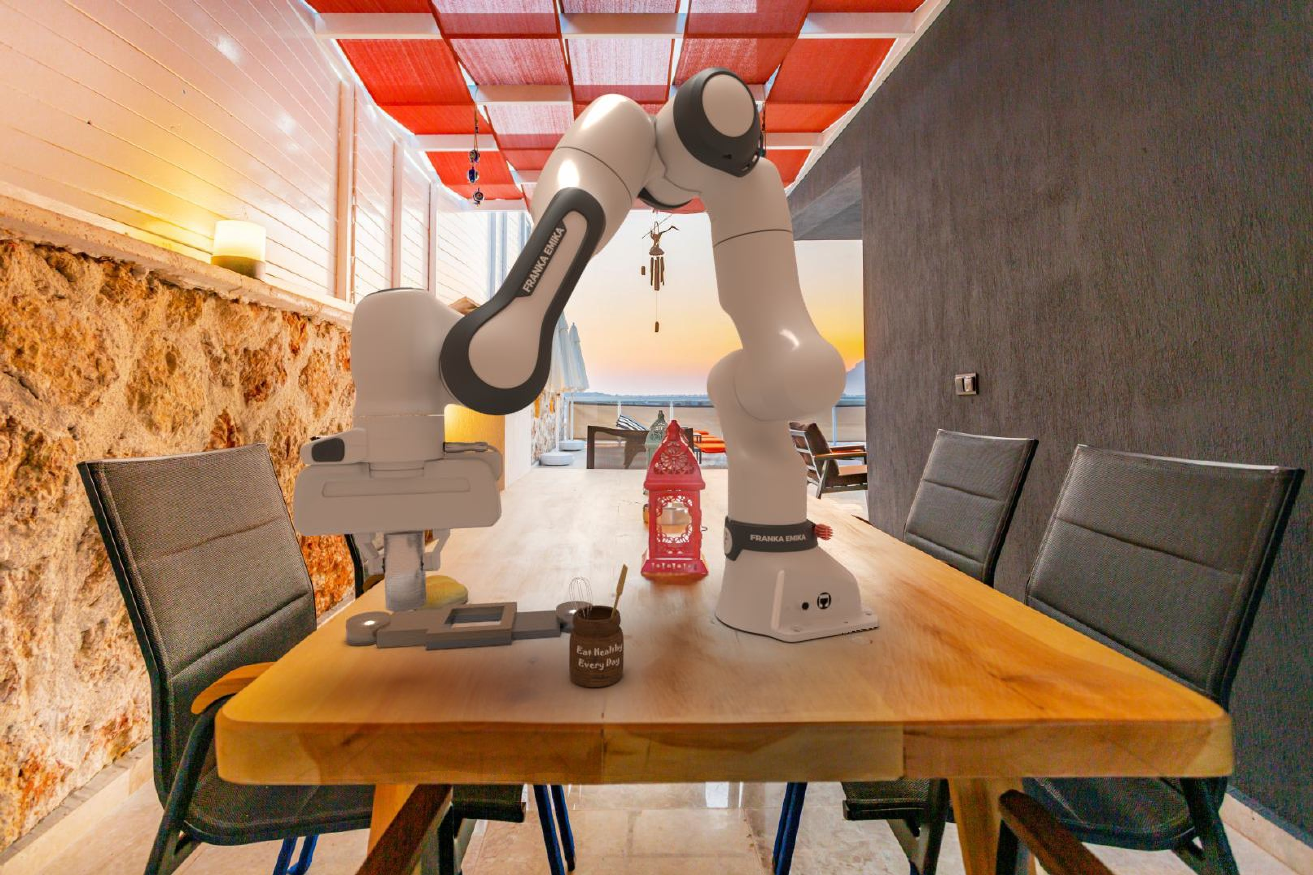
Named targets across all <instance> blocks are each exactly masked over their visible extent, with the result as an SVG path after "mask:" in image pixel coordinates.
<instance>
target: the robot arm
mask: <svg viewBox="0 0 1313 875" xmlns="http://www.w3.org/2000/svg"><path fill="white" fill-rule="evenodd" d="M761 128H762V125H761V116H760V112H759V109H758V106H757V102H756V100H755V97H754V95H753V93H752V91H751V89H750V88H749V86H748V85H747V83H746V82H745V81H744V80H743V78H741V76H739V74H737V73H736V72H734V71H733V70H731V69H729V68H726V67H723V66H711V67H708V68H705V69H703V70H700V71H698V72H697V73H695V74H693V75H692V76H691V77H689V78H688V79H687V80H686V81H684V82H683V83H682V84H681V85H680V87H679V88H678V90H677V92H676V93H675V94H674V95H673V96H672V97H671V98H670V99H669V100H668V101H667V102H666V103H664V105H663V106H662V108H661V109H660V110H659V111H658V113H648V112H647V111H646V110H645V109H644V108H643V107H642V106H641V105H640V104H639V103H637V102H636V101H635V100H633V99H631V98H630V97H628V96H625V95H622V94H618V93H608V94H603V95H600V96H599V97H597V98H596V99H595V98H594V100H593V101H591V103H590V104H589V105H588V106H587V107H586V108H584V110H583V111H582V112H581V113H580V114H579V115H578V117H576V119H575V120H574V121H573V122H572V123H571V125H570V126H569V127H568V128H567V129H566V131H565V132H564V134H563V135H562V137H561V138H560V140H559V141H558V143H557V145H556V146H555V148H554V149H553V151H552V152H551V154H550V156H549V157H548V158H547V161H546V162H545V164H544V166H543V168H542V170H541V173H540V175H539V177H538V178H537V182H536V185H535V187H534V190H533V193H532V196H531V198H530V202H529V212H530V213H529V214H530V217H531V220H532V222H533V227H532V230H531V233H530V236H529V237H528V239H527V241H526V243H525V245H524V246H523V248H522V250H521V251H520V253H519V254H518V256H517V259H516V260H515V262H514V263H513V265H512V266H511V269H510V271H509V272H508V274H507V276H506V278H505V279H504V280H503V282H502V284H501V286H500V287H499V288H498V290H497V291H496V292H495V294H494V295H493V296H492V297H491V298H490V299H489V300H488V301H486V302H484V303H483V304H481V305H480V306H477V308H475V309H473V310H471V311H470V312H468V313H466V314H463V313H461V312H459V311H457V310H455V309H454V308H453V307H450V306H449V305H447V304H446V303H444V302H443V301H442V300H440V299H439V298H437V297H436V296H435V295H434V294H433V293H432V292H431V291H429V290H428V289H423V288H420V287H416V288H415V287H410V286H409V287H408V286H407V287H404V286H402V287H401V286H399V287H392V288H384V289H379V290H377V291H375V292H371V293H369V294H367V295H365V296H364V297H363V298H362V299H360V301H358V303H357V304H356V306H355V309H354V312H353V315H352V319H351V320H352V321H351V328H350V330H351V331H350V347H349V348H350V351H349V352H350V357H349V358H350V374H351V378H352V380H353V383H354V387H355V396H356V397H355V403H354V406H353V410H352V427H351V428H350V429H347V430H344V431H338V432H336V433H333V434H331V435H328V436H325V437H321V438H318V439H314V440H312V441H308V442H306V443H304V444H301V447H300V449H299V456H300V460H301V462H302V463H303V464H305V465H307V466H305V467H304V468H302V469H301V470H300V471H299V472H298V474H297V476H296V479H295V482H294V488H293V497H292V500H293V501H292V523H293V527H294V529H295V530H296V531H297V532H298V533H299V534H300V535H301V536H303V537H314V536H331V535H332V536H334V535H352V534H353V535H354V540H355V541H354V544H355V546H356V547H357V548H358V549H359V551H360V552H361V554H362V555H363V557H365V559H366V560H367V571H368V572H367V573H368V575H370V576H371V575H374V576H375V575H385V569H384V553H383V554H380V552H379V551H378V549H377V548H376V546H375V544H374V543H373V541H374V540H375V539H376V538H377V533H384V532H397V531H417V530H424V531H431V530H432V539H433V540H438V541H437V543H436V544H435V546H434V548H433V550H432V551H427V552H426V551H425V554H424V555H423V556H422V557H423V563H424V565H423V571H426V572H435V571H439V570H440V568H441V552H442V551H443V549H444V547H445V546H446V544H447V542H448V540H449V539H450V536H451V530H453V529H455V530H456V529H474V528H491V527H493V526H495V525H496V524H497V523H498V522H499V520H500V519H501V518H502V513H503V512H502V500H501V493H500V487H499V486H500V485H499V479H500V478H501V477H502V475H503V470H504V469H503V468H504V467H503V456H502V454H501V452H500V450H499V449H498V448H497V447H495V446H493V445H491V444H489V443H488V442H486V441H474V442H465V441H453V442H452V441H447V442H446V430H445V429H446V426H445V409H446V407H447V406H448V405H456V406H461V407H464V408H465V409H468V410H472V411H474V412H477V413H480V414H483V415H488V416H507V415H513V414H515V413H518V412H520V411H522V410H524V409H526V408H528V407H529V406H530V405H531V404H532V403H534V402H535V401H536V400H537V399H538V398H539V397H540V395H541V394H542V392H543V391H544V389H545V387H546V386H547V383H548V380H549V377H550V372H551V365H552V356H553V355H552V352H553V341H554V335H555V330H556V327H557V325H558V321H559V319H560V317H561V316H562V315H563V314H562V313H563V311H564V310H565V307H566V305H567V304H568V302H569V300H570V298H571V296H572V294H573V293H574V291H575V288H576V287H577V285H578V283H579V280H580V279H581V277H582V275H583V274H584V272H585V270H586V268H587V266H588V264H589V263H590V261H591V260H592V259H593V258H594V257H595V256H596V255H598V254H599V253H601V252H602V251H603V249H604V248H606V246H607V245H608V244H609V243H610V241H611V240H612V239H613V238H614V236H615V234H616V233H617V232H618V231H619V229H620V228H621V226H622V225H623V223H624V222H625V220H626V219H627V217H628V214H629V213H630V212H631V209H632V207H633V206H634V203H635V202H636V200H637V198H638V199H639V200H640V201H641V202H643V204H645V205H647V206H649V207H650V208H653V209H655V210H659V211H664V212H666V211H673V210H677V209H680V208H683V207H685V206H687V205H688V204H690V203H691V202H692V201H693V200H694V199H695V198H697V197H698V199H700V200H699V201H700V202H701V203H702V204H703V206H704V207H705V210H706V213H707V215H708V218H709V222H710V232H711V233H710V234H711V244H712V245H711V246H712V252H713V253H712V254H713V262H714V270H715V277H716V286H717V294H718V302H719V304H720V306H721V309H722V310H723V311H724V312H725V313H726V314H727V315H728V316H729V318H730V319H731V320H732V323H733V324H734V327H735V329H736V331H737V334H738V337H739V339H740V343H741V345H742V348H739V349H737V350H733V351H731V352H730V353H728V354H727V355H725V356H724V357H722V358H721V359H720V360H719V361H718V362H716V363H715V364H714V365H713V366H712V368H711V370H710V371H709V372H708V375H707V379H706V392H707V397H708V399H709V402H710V404H712V407H713V408H714V409H715V411H716V414H717V417H718V420H719V425H720V430H721V434H722V438H723V443H724V448H725V454H726V462H727V463H726V464H727V515H726V516H725V518H724V528H723V534H722V535H723V536H722V538H723V540H722V541H723V543H722V544H723V551H724V552H723V553H724V556H725V561H724V571H723V578H722V583H721V589H720V592H719V598H718V600H717V604H716V607H715V610H714V614H715V616H716V618H717V619H718V620H719V621H721V622H722V623H724V624H726V625H727V626H729V627H732V628H734V629H738V630H741V631H743V632H744V631H745V632H750V633H755V634H759V635H765V636H768V637H772V638H775V639H778V640H780V641H784V642H789V643H795V642H801V641H807V640H812V639H818V638H825V637H831V636H837V635H842V633H843V634H849V633H853V632H852V631H855V632H857V631H856V630H860V631H862V630H861V629H866V630H870V629H869V628H872V629H875V628H874V627H877V626H878V627H879V617H878V615H877V614H876V612H874V610H872V609H871V608H870V607H869V606H867V604H864V603H863V602H862V599H861V591H860V587H859V584H858V581H857V579H856V577H855V576H854V574H853V573H852V572H851V571H850V570H849V569H847V567H845V565H843V564H842V563H840V562H839V561H838V560H836V559H835V558H834V557H833V555H830V554H829V553H828V552H827V551H826V550H824V548H822V547H821V546H820V545H819V541H818V538H820V539H821V540H823V541H829V540H831V539H832V538H831V537H834V535H833V534H834V532H833V531H834V529H832V527H831V526H828V525H825V524H823V523H818V524H817V523H815V522H814V521H812V520H810V519H808V518H807V514H808V513H807V512H808V511H807V510H808V466H807V464H806V461H805V459H804V458H803V456H802V454H800V452H799V450H798V449H797V446H796V445H795V443H794V441H793V437H792V433H791V430H790V425H789V422H799V421H803V420H807V419H810V418H814V417H817V416H818V415H822V414H824V413H826V412H828V411H830V410H832V409H833V408H834V407H835V406H837V404H838V403H839V401H840V400H841V398H842V397H843V394H844V392H845V389H846V386H847V385H846V384H847V369H846V364H845V362H844V359H843V357H842V355H841V353H840V352H839V351H838V349H837V348H836V347H835V346H834V345H833V344H832V343H830V342H829V341H827V340H826V339H825V338H824V336H822V335H821V334H820V332H819V330H818V329H817V327H816V326H815V324H814V322H813V319H812V318H811V315H810V313H809V311H808V308H807V307H806V303H805V301H804V296H803V294H802V290H801V285H800V280H799V279H800V278H799V274H798V273H799V272H798V265H797V264H798V263H797V256H796V255H797V254H796V250H795V240H794V232H793V224H792V223H793V222H792V219H791V218H792V217H791V211H790V208H789V207H790V206H789V202H788V198H787V195H786V194H787V193H786V190H785V187H784V183H783V181H782V177H781V175H780V172H779V170H778V168H777V166H776V164H775V163H774V162H772V161H771V160H769V159H768V158H765V157H763V156H761V155H762V153H763V149H764V133H763V131H762V129H761ZM488 450H491V451H488ZM878 627H877V628H878ZM848 632H849V633H848Z"/></svg>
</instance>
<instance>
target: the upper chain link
mask: <svg viewBox="0 0 1313 875" xmlns="http://www.w3.org/2000/svg"><path fill="white" fill-rule="evenodd" d="M516 611H517V612H518V601H504V602H487V603H463V604H462V605H443V606H442V608H441V609H435V610H409V611H402V612H393V611H392V613H390V612H387V611H381V610H380V611H379V610H377V611H367V612H362V613H358V614H355V615H353V616H351V617H349V618H348V619H346V621H345V627H346V628H345V633H346V634H345V635H346V636H345V637H346V638H345V639H346V640H345V641H346V644H347V645H349V646H354V647H355V646H356V647H361V646H365V647H366V646H371V645H375V644H376V649H383V648H385V649H386V648H398V647H413V646H414V647H415V646H426V642H429V641H445V640H461V639H477V638H493V637H509V636H511V635H512V630H513V625H514V621H515V616H516ZM494 613H503V615H502V619H501V620H500V623H499V624H490V625H489V624H488V625H471V626H456V627H455V626H454V627H453V626H451V627H450V628H446V627H447V625H448V623H449V621H450V619H451V617H452V616H458V615H476V614H494Z"/></svg>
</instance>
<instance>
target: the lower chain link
mask: <svg viewBox="0 0 1313 875" xmlns="http://www.w3.org/2000/svg"><path fill="white" fill-rule="evenodd" d="M571 601H572V600H570V601H565V602H562V603H560V604H558V605H557V606H556V607H555V608H556V609H553V610H535V611H532V610H531V611H518V610H517V611H516V616H515V621H514V625H513V630H512V635H511V636H509V637H493V638H477V639H461V640H445V641H429V642H426V645H425V649H426V651H430V650H442V649H443V650H444V649H445V650H446V649H458V648H459V649H461V648H473V647H474V648H475V647H489V646H505V645H512V642H513V640H524V639H541V638H555V637H556V638H557V637H558V638H559V637H561V632H563V633H571V631H572V629H573V628H574V626H573V616H574V613H575V612H576V611H577V609H580V608H582V607H584V606H585V607H587V606H590V604H591V606H594V605H593V603H592V602H591V603H590V602H589V601H584V603H583V600H573V601H572V603H571ZM574 602H576V604H575V603H574ZM581 602H582V604H581ZM572 605H573V606H572ZM575 605H576V606H577V608H576V606H575ZM573 607H574V608H573ZM574 609H575V610H574ZM502 615H503V613H494V614H476V615H458V616H452V617H451V619H450V621H449V623H448V625H447V627H446V628H452V624H455V623H456V624H458V623H459V624H460V623H475V622H492V621H501V619H502Z"/></svg>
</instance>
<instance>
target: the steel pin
mask: <svg viewBox="0 0 1313 875" xmlns="http://www.w3.org/2000/svg"><path fill="white" fill-rule="evenodd" d="M382 533H383V536H382V537H383V554H384V569H385V574H384V592H385V593H384V594H385V600H384V601H385V610H387V611H389V612H392V613H393V612H402V611H415V609H417V608H420V607H422V606H424V605H425V604H426V602H427V601H426V577H427V576H426V575H427V571H423V565H424V563H423V557H422V556H423V555H424V554H425V553H426V545H425V544H426V542H425V541H426V539H425V530H417V531H397V532H382Z"/></svg>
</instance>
